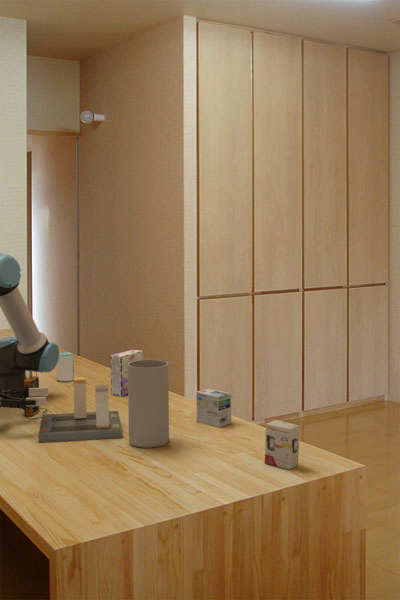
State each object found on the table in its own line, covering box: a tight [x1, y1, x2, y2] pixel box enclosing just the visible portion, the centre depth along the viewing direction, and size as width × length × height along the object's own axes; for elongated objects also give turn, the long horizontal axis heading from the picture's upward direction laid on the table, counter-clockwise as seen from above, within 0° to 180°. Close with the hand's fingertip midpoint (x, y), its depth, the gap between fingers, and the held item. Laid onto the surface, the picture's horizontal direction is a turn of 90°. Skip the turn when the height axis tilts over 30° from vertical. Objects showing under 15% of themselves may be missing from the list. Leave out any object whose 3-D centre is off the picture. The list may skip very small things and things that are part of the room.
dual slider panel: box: [38, 384, 123, 444], centre depth 231 cm, size 23×26×16 cm
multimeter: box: [23, 358, 49, 421], centre depth 249 cm, size 15×10×20 cm
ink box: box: [264, 419, 301, 470], centre depth 197 cm, size 9×5×12 cm, turn 50°
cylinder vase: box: [127, 359, 170, 449], centre depth 217 cm, size 12×12×25 cm
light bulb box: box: [195, 388, 232, 428], centre depth 238 cm, size 11×7×11 cm, turn 47°
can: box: [56, 351, 75, 383], centre depth 302 cm, size 7×7×12 cm
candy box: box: [110, 349, 144, 398], centre depth 280 cm, size 14×6×16 cm, turn 144°
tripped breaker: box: [73, 376, 87, 419], centre depth 236 cm, size 4×4×13 cm
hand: (47, 396), depth 234 cm, fingers open, 13 cm apart
